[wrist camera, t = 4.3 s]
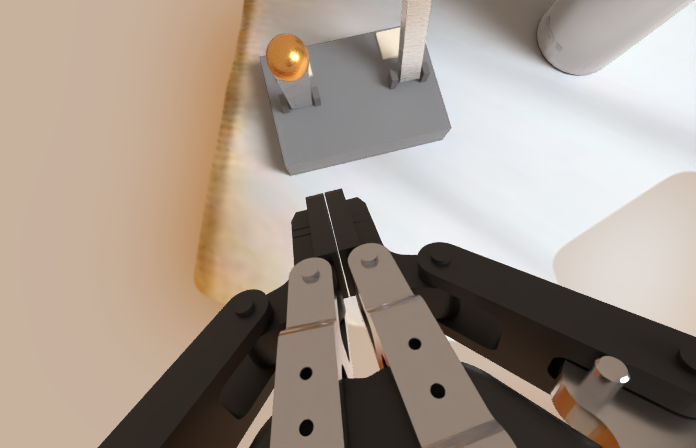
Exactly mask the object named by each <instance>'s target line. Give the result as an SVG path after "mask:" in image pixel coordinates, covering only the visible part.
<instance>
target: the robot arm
mask: <svg viewBox="0 0 696 448" xmlns="http://www.w3.org/2000/svg"><path fill="white" fill-rule="evenodd" d="M693 1H694V0H556V1H555V2H554V3H553V4H552V6H551V7H550V8H549V9H548V11H547V12H546V13H545V14H544V15H543V17H542V19H541V21H540V23H539V25H538V30H537V40H538V44H539V47H540V49H541V51H542V54H543V55H544V56H545V58H546V59H547V60H548V61H549V62H550V63H551V64H552V65H553V66H555V67H556V68H558V69H560V70H561V71H564V72H567V73H569V74H575V75H588V74H592V73H595V72H597V71H599V70H601V69H603V68H604V67H605V66H607V65H608V64H609V63H611V62H612V61H613V60H615V59H616V58H617V57H619V56H620V55H622V54H623V53H624V52H626V51H627V50H628V49H630V48H631V47H632V46H634V45H635V44H636V43H638V42H639V41H641V40H642V39H643V38H645V37H646V36H647V35H649V34H650V33H651V32H653V31H654V30H655V29H657V28H658V27H659V26H661V25H662V24H663V23H665V22H666V21H667V20H669V19H670V18H671V17H673V16H674V15H675V14H677V13H678V12H679V11H681V10H682V9H683V8H685V7H686V6H687V5H689V4H690V3H691V2H693ZM325 197H326V201H327V205H328V209H329V213H330V217H331V222H332V225H331V222H330V218H329V214H328V210H327V206H326V203H325V199H324V195H323V193H322V194H317V195H313V196H309V197H306V204H307V210H304V211H300V212H296V213H295V215H294V217H293V219H292V221H291V224H292V238H293V254H294V267H293V269H292V270H291V272H290V274H289V280H288V281H287V282H286V283H285V284H284V285H282V286H281V287H279V288H278V289H276V290H274V291H272V292H270V293H269V294H267V295H266V294H265V293H264V292H262V291H260V290H254V289H253V290H246V291H244V292H241V293H239V294H237V295H236V296H234V297H233V298H232V299H231V300H230V301H229V302H228V303H227V304H226V305H225V306H224V307H223V309H222V310H221V311H220V312H219V313H218V314H217V315H216V316H215V318H214V319H213V320H212V321H211V322H210V323H209V324H208V325H207V326H206V327H205V329H204V330H203V331H202V332H201V333H200V334H199V335H198V336H197V338H196V339H195V340H194V341H193V342H192V343H191V344H190V345H189V347H188V348H187V349H186V350H185V351H184V352H183V353H182V354H181V355H180V357H179V358H178V359H177V360H176V361H175V362H174V363H173V364H172V365H171V367H170V368H169V369H168V370H167V371H166V372H165V373H164V374H163V375H162V377H161V378H160V379H159V380H158V381H157V382H156V383H155V384H154V385H153V387H152V388H151V389H150V390H149V391H148V392H147V393H146V394H145V396H144V397H143V398H142V399H141V400H140V401H139V402H138V404H136V406H135V407H134V408H133V409H132V410H131V411H130V412H129V413H128V415H127V416H126V417H125V418H124V419H123V420H122V421H121V422H120V423H119V425H118V426H117V427H116V428H115V429H114V430H113V431H112V432H111V434H110V435H109V436H108V437H107V438H106V439H105V440H104V441H103V442H102V444H101V445H100V446H99V447H98V448H237V446H238V444H239V443H240V441H241V439H242V438H243V436H244V435H245V433H246V432H247V430H248V428H249V427H250V425H251V424H252V422H253V421H254V419H255V417H256V416H257V414H258V413H259V411H260V410H261V408H262V406H263V405H264V403H265V402H266V400H267V398H268V397H269V395H270V394H271V392H272V390H273V389H274V400H273V415H272V416H271V417H270V418H269V420H268V421H267V422H266V423H265V424H264V426H263V427H262V428H261V429H260V431H259V432H258V434H257V435H256V437H255V439H254V440H253V442H252V444H251V445H250V447H249V448H696V337H694V336H692V335H689V334H686V333H683V332H681V331H678V330H676V329H673V328H671V327H668V326H665V325H663V324H660V323H657V322H655V321H652V320H649V319H647V318H644V317H641V316H639V315H636V314H634V313H631V312H628V311H626V310H623V309H620V308H618V307H615V306H613V305H610V304H607V303H604V302H602V301H599V300H597V299H594V298H591V297H589V296H586V295H583V294H581V293H578V292H575V291H573V290H570V289H568V288H565V287H562V286H560V285H557V284H555V283H552V282H549V281H547V280H544V279H541V278H539V277H536V276H533V275H531V274H528V273H526V272H523V271H520V270H518V269H515V268H512V267H510V266H507V265H505V264H502V263H499V262H497V261H494V260H491V259H489V258H486V257H483V256H481V255H478V254H476V253H473V252H470V251H468V250H465V249H462V248H460V247H457V246H454V245H452V244H449V243H443V242H436V243H431V244H428V245H426V246H424V247H423V248H422V249H421V250H420V251H419V253H418V255H400V254H396V253H393V252H391V251H389V250H388V249H387V248H386V247H384V245H383V244H382V241H381V239H380V237H379V234H378V232H377V230H376V227H375V225H374V222H373V220H372V218H371V215H370V213H369V211H368V208H367V206H366V204H365V202H363V201H362V200H361V199H359V198H358V197H356V198H352V199H348V200H345V197H344V194H343V191H342V188H341V189H337V190H333V191H329V192H325ZM332 226H333V229H332ZM333 230H334V233H333ZM334 234H335V237H334ZM335 238H336V242H337V246H338V250H339V254H340V258H341V262H342V266H343V270H344V273H345V277H346V281H347V285H348V289H349V293H350V297H351V296H355V295H356V298H357V302H358V305H359V310H360V314H361V317H362V320H363V322H364V325H365V328H366V331H367V333H368V336H369V339H370V342H371V345H372V347H373V350H374V353H375V356H376V359H377V362H378V365H379V368H380V371H379V372H376V373H375V374H373V375H372V376H369V377H367V378H354V374H353V368H352V361H351V352H350V344H349V336H348V329H347V320H346V316H345V312H346V310H345V305H344V300H343V299H344V298H348V297H349V296H348V292H347V288H346V284H345V279H344V275H343V271H342V267H341V263H340V258H339V254H338V250H337V246H336V242H335ZM444 334H445V335H447V336H448V337H450V338H452V339H454V340H455V341H457V342H459V343H461V344H463V345H464V346H466V347H468V348H469V349H471V350H473V351H475V352H476V353H478V354H480V355H482V356H484V357H485V358H487V359H489V360H490V361H492V362H494V363H496V364H497V365H499V366H501V367H503V368H504V369H506V370H508V371H510V372H511V373H513V374H515V375H517V376H519V377H520V378H522V379H524V380H525V381H527V382H529V383H531V384H533V385H534V386H536V387H538V388H539V389H541V390H543V391H545V392H546V393H548V394H550V395H551V398H552V402H553V404H554V406H555V408H556V410H557V411H558V413H559V414H560V416H561V417H562V418H563V419H564V420H565V421H566V422H567V423H568V424H569V425H568V424H566V423H565V422H563V421H562V420H560V419H558V418H557V417H555V416H554V415H552V414H551V413H549V412H547V411H546V410H544V409H543V408H541V407H540V406H538V405H537V404H535V403H534V402H532V401H530V400H529V399H527V398H526V397H524V396H522V395H521V394H519V393H518V392H516V391H515V390H513V389H512V388H510V387H508V386H507V385H505V384H504V383H502V382H501V381H499V380H498V379H496V378H494V377H493V376H491V375H490V374H488V373H486V372H485V371H483V370H481V369H479V368H477V367H475V366H472V365H469V364H467V363H464V362H460V360H459V359H458V357H457V355H456V354H455V352H454V350H453V349H452V347H451V345H450V343H449V342H448V340H447V338H446V337H445V335H444ZM571 426H572V427H571ZM574 428H575V429H574Z"/></svg>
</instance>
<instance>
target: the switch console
mask: <svg viewBox="0 0 696 448" xmlns="http://www.w3.org/2000/svg"><path fill="white" fill-rule="evenodd" d="M400 27H401V26H398V27H393V28H389V29H384V30H380V31H375V32H371V33H366V34H361V35H357V36H352V37H348V38H343V39H339V40H334V41H329V42H325V43H320V44H316V45H311V46H307V50H308V53H309V59H310V61H309V67H308V70H309V80H310V90H311V100H312V105H310V106H306V107H301V108H297V109H292V108H291V106H290V104H289V102H288V100H287V99H286V97H285V95H284V93H283V91H282V89H281V87H280V85H279V83H278V81H277V80H276V78H275V76H274V75H273V74H272V72H271V71H270V69H269V67H268V65H267V61H266V56H261V57H260V61H261V65H262V69H263V74H264V78H265V82H266V87H267V91H268V95H269V99H270V104H271V108H272V112H273V117H274V121H275V125H276V129H277V134H278V138H279V142H280V147H281V151H282V155H283V159H284V164H285V168H286V169H287V171H288V172H289V174H290V176H292V175H296V174H300V173H305V172H309V171H313V170H317V169H321V168H326V167H330V166H334V165H338V164H343V163H347V162H351V161H355V160H359V159H364V158H368V157H372V156H376V155H380V154H385V153H389V152H393V151H397V150H401V149H406V148H410V147H414V146H418V145H422V144H427V143H431V142H435V141H439V140H442V139H443V138H444V137H445V135H446V134H447V133H448V132H449V130H450V129H451V125H450V122H449V118H448V115H447V112H446V109H445V105H444V102H443V99H442V95H441V92H440V89H439V86H438V82H437V79H436V76H435V73H434V69H433V66H432V63H431V59H430V56H429V53H428V50H427V46H426V43H425V48H424V54H423V60H422V66H421V73H420V78H419V79H414V80H410V81H406V82H401V83H400V81H399V79H398V76H397V63H398V51H399V39H400Z"/></svg>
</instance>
